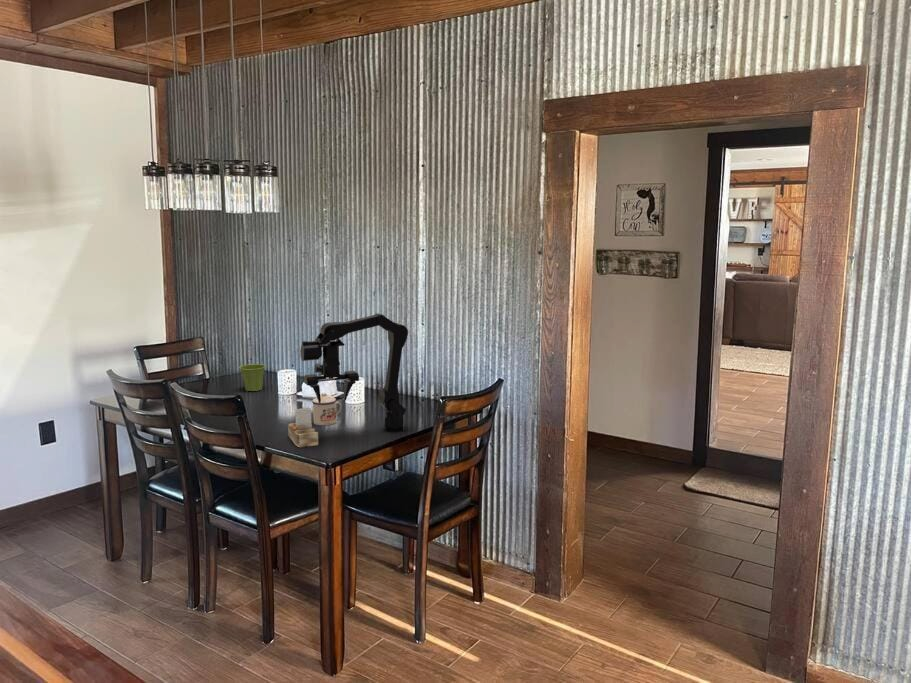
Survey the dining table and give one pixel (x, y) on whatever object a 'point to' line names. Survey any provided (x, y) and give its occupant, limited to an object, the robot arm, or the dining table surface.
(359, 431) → the dining table surface
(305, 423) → the aluminium panel
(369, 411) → the dining table surface
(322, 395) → the teacup with lid
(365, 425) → the dining table surface
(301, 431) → the birch rack
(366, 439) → the dining table surface
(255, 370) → the plant pot
